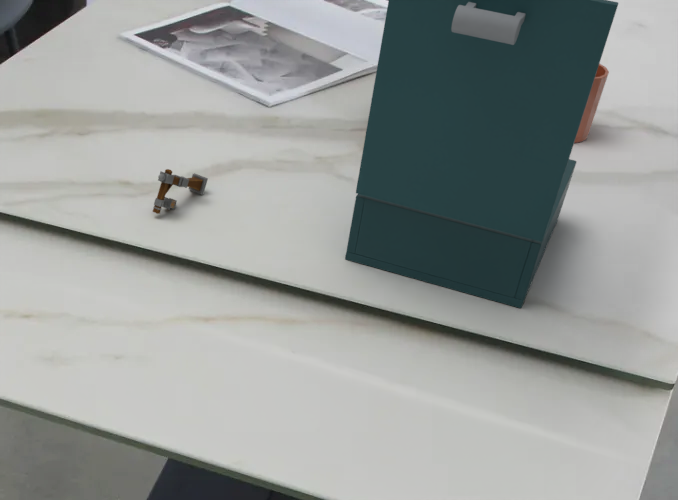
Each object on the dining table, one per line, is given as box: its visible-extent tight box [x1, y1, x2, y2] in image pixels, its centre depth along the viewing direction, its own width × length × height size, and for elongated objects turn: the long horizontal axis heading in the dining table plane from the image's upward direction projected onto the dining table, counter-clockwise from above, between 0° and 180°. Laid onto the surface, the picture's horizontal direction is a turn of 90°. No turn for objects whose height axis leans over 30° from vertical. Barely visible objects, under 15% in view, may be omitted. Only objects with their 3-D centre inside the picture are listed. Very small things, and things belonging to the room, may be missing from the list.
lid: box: [355, 0, 619, 242], centre depth 87 cm, size 21×18×5 cm
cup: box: [574, 62, 610, 144], centre depth 127 cm, size 7×7×8 cm
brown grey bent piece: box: [152, 168, 209, 215], centre depth 108 cm, size 2×8×4 cm, turn 145°
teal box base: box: [344, 158, 577, 309], centre depth 105 cm, size 20×18×7 cm
